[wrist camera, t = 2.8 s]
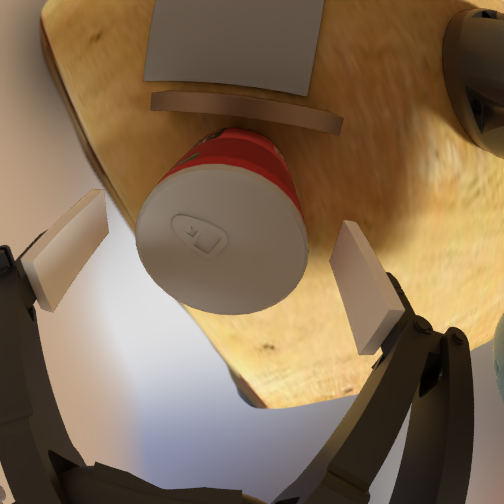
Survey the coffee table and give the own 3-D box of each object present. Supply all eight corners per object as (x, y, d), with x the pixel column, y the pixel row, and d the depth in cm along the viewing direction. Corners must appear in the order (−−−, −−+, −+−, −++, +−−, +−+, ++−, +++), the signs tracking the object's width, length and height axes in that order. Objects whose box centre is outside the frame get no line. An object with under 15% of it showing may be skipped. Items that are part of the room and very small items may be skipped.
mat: (328, -34, 10) (330, -36, 10) (305, 96, 17) (306, 96, 17) (169, -46, 10) (168, -48, 9) (145, 81, 16) (143, 81, 16)
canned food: (207, 111, 18) (154, 140, 9) (305, 152, 20) (345, 218, 11) (176, 197, 22) (124, 284, 13) (264, 231, 24) (265, 332, 15)
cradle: (330, 112, 18) (343, 118, 15) (295, 250, 25) (299, 274, 22) (168, 90, 17) (152, 92, 14) (163, 232, 24) (151, 254, 21)
